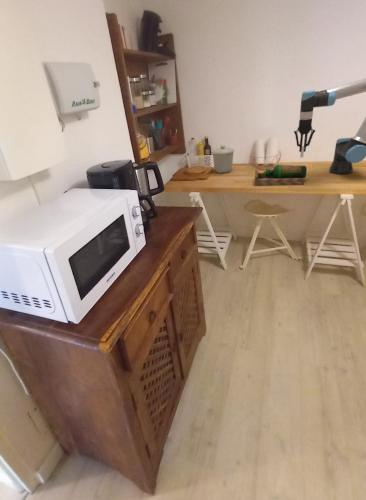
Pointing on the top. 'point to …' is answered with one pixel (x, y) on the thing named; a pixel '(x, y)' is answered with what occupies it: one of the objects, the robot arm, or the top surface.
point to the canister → (223, 159)
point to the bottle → (286, 171)
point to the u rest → (275, 180)
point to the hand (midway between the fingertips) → (301, 156)
